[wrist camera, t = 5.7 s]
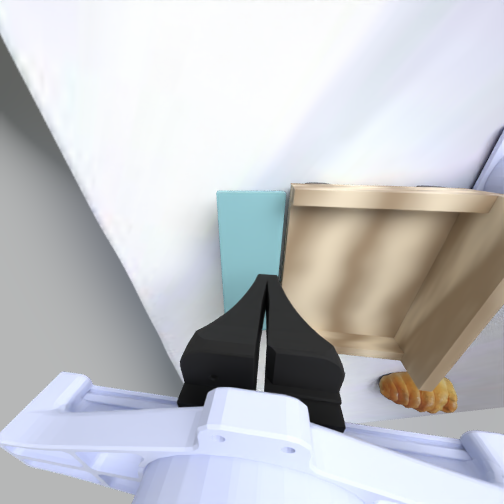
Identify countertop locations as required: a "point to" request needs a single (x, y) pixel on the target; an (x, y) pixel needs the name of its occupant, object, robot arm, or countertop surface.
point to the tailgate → (248, 239)
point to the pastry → (418, 393)
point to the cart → (396, 270)
